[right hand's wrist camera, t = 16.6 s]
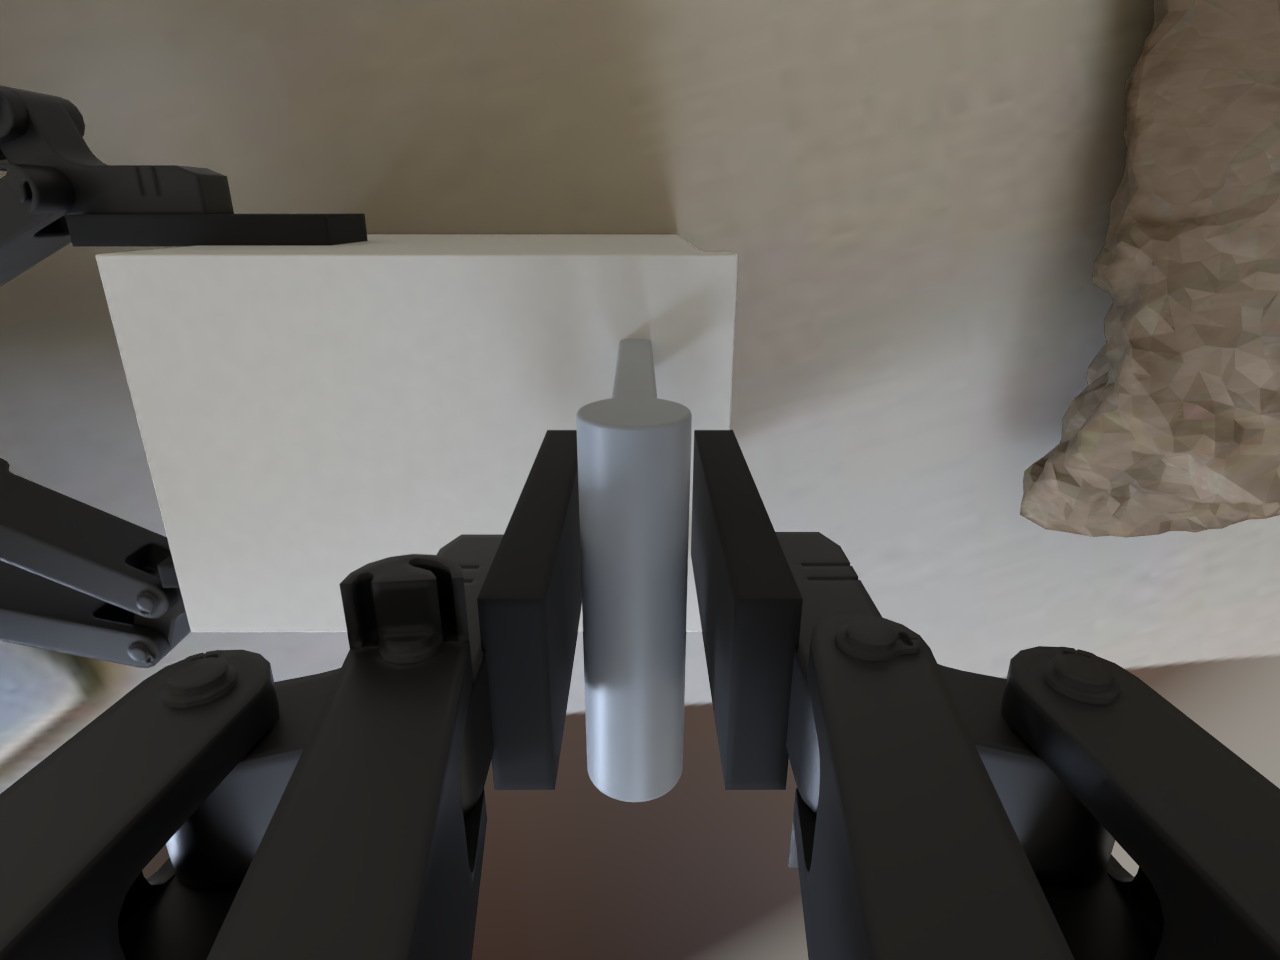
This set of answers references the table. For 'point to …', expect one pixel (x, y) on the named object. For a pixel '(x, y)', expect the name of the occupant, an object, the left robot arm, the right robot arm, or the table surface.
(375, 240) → the chest
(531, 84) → the table surface
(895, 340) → the table surface
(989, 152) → the table surface
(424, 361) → the lid
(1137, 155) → the stone
